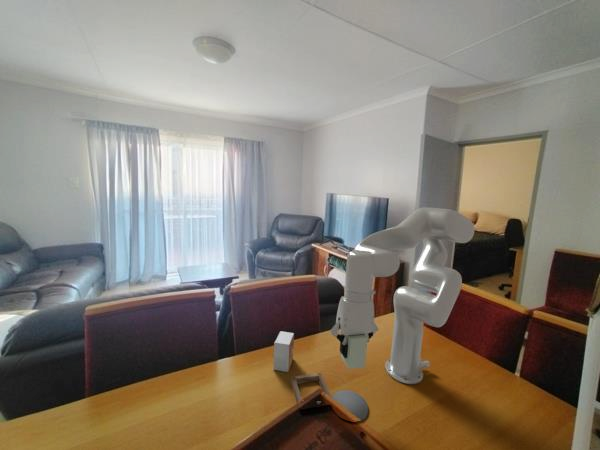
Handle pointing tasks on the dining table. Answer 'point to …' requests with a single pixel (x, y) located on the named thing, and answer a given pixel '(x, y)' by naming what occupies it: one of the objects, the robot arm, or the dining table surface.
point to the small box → (283, 351)
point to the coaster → (352, 403)
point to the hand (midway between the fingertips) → (352, 353)
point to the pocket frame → (306, 379)
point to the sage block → (356, 351)
